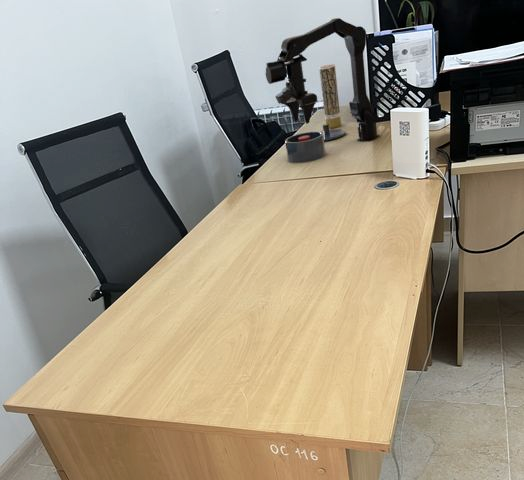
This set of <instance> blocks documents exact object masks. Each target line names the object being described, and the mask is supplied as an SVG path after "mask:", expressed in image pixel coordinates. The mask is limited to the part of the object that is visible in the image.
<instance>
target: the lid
mask: <svg viewBox="0 0 524 480" xmlns="http://www.w3.org/2000/svg"><path fill="white" fill-rule="evenodd" d="M320 132H322V133H323V136H324V142H327V141H332V140H335V139H338V138H341V137H343V136H345V135H346V134H347V132H346V130H345V129H342V128H329V124H326V123H324V124H322V130H321V131H320Z"/></svg>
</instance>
